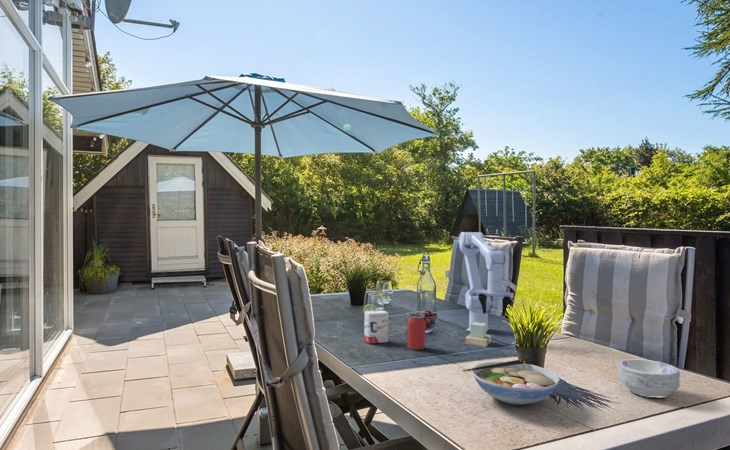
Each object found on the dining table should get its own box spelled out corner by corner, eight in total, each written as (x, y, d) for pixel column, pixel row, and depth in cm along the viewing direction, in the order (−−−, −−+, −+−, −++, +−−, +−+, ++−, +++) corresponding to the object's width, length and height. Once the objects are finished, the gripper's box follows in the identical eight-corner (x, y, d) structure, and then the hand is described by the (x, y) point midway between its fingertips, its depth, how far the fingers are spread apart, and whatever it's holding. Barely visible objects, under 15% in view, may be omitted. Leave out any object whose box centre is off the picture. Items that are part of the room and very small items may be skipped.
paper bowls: (608, 383, 147) (608, 357, 147) (659, 384, 147) (660, 358, 146) (634, 402, 132) (635, 373, 132) (691, 404, 131) (692, 374, 131)
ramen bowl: (505, 424, 116) (505, 390, 116) (451, 392, 137) (452, 363, 137) (582, 409, 126) (582, 378, 126) (521, 381, 147) (521, 354, 147)
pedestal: (471, 340, 197) (471, 333, 197) (490, 343, 193) (491, 335, 193) (465, 344, 190) (465, 337, 190) (485, 347, 186) (486, 340, 186)
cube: (473, 334, 195) (474, 321, 194) (486, 336, 192) (486, 323, 192) (470, 336, 190) (470, 324, 190) (482, 338, 188) (483, 325, 188)
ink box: (368, 344, 186) (368, 313, 186) (363, 341, 191) (363, 311, 191) (388, 342, 190) (389, 312, 190) (383, 339, 195) (383, 310, 194)
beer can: (424, 346, 185) (425, 314, 185) (425, 350, 179) (425, 318, 178) (407, 345, 186) (408, 314, 186) (407, 350, 179) (407, 317, 179)
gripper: (474, 280, 196) (473, 313, 196) (511, 283, 189) (510, 318, 189) (479, 278, 202) (478, 311, 202) (514, 281, 195) (514, 314, 195)
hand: (494, 314), depth 196 cm, fingers open, 7 cm apart
